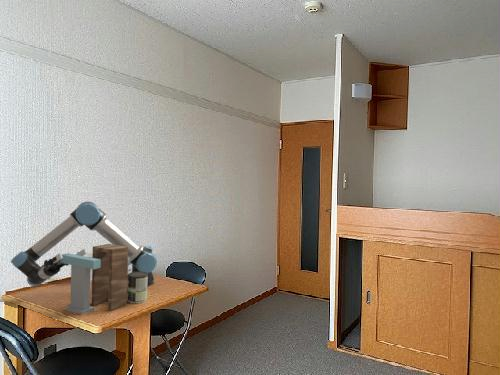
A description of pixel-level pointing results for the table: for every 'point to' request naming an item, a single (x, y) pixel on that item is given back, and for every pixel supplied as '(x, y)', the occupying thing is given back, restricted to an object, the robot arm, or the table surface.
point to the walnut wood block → (110, 276)
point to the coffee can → (137, 287)
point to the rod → (81, 261)
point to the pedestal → (80, 290)
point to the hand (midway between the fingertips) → (73, 253)
